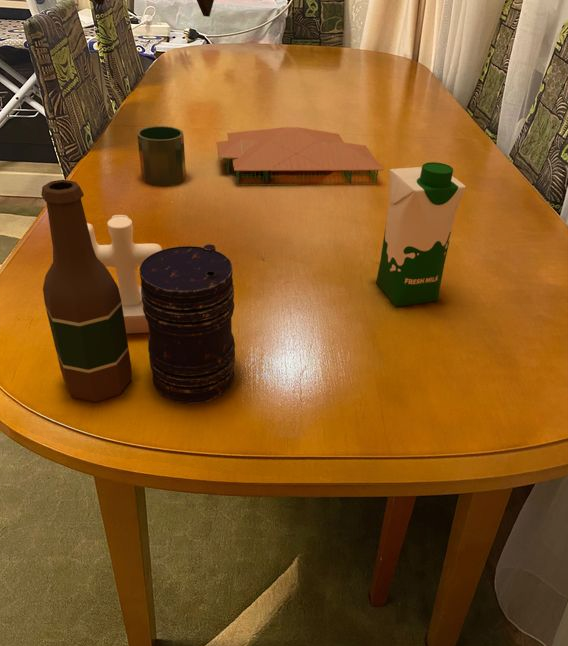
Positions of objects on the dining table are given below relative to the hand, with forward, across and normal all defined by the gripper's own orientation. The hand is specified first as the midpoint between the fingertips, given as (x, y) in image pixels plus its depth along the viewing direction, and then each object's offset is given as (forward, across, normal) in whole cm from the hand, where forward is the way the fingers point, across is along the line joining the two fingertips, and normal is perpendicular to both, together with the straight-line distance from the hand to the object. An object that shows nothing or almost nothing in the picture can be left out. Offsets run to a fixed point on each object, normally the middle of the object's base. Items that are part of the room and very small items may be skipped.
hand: (147, 2), depth 70 cm
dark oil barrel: (+41, -13, -10) cm, 44 cm away
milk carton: (+21, -35, -31) cm, 51 cm away
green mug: (+1, +19, -50) cm, 53 cm away
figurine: (+35, -1, -16) cm, 39 cm away
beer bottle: (+44, -3, -7) cm, 45 cm away
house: (-11, -5, -62) cm, 63 cm away
